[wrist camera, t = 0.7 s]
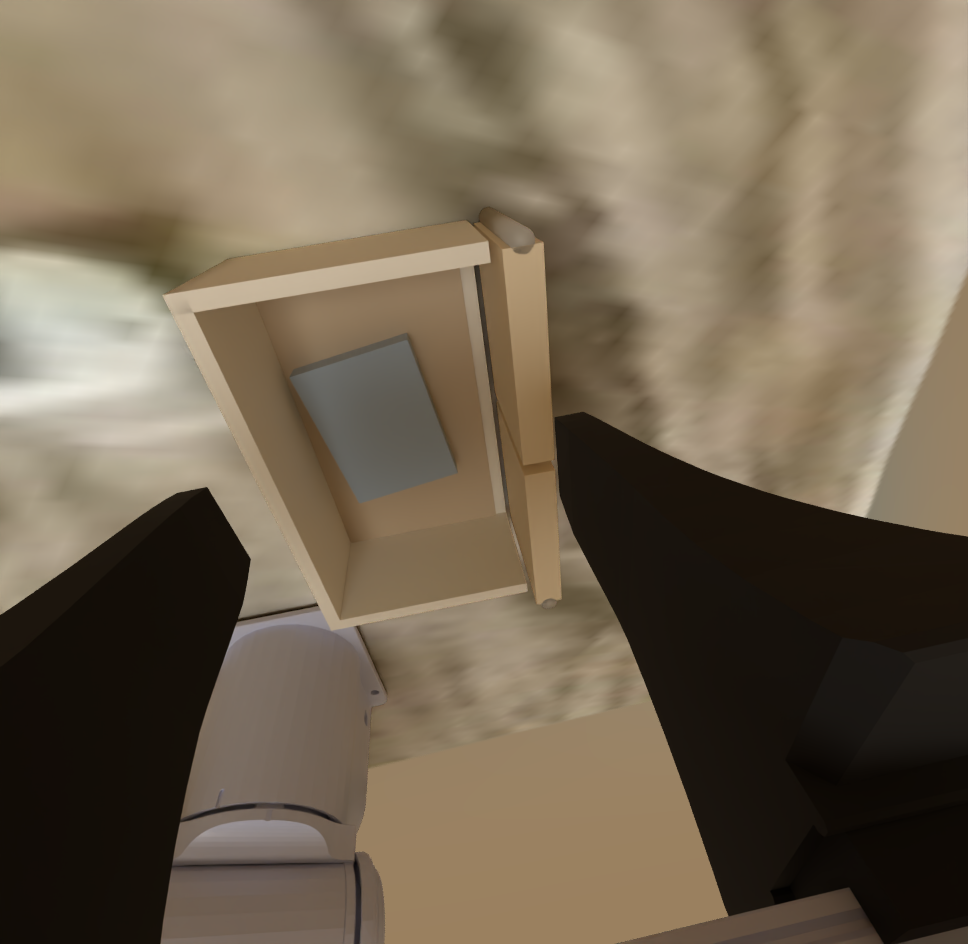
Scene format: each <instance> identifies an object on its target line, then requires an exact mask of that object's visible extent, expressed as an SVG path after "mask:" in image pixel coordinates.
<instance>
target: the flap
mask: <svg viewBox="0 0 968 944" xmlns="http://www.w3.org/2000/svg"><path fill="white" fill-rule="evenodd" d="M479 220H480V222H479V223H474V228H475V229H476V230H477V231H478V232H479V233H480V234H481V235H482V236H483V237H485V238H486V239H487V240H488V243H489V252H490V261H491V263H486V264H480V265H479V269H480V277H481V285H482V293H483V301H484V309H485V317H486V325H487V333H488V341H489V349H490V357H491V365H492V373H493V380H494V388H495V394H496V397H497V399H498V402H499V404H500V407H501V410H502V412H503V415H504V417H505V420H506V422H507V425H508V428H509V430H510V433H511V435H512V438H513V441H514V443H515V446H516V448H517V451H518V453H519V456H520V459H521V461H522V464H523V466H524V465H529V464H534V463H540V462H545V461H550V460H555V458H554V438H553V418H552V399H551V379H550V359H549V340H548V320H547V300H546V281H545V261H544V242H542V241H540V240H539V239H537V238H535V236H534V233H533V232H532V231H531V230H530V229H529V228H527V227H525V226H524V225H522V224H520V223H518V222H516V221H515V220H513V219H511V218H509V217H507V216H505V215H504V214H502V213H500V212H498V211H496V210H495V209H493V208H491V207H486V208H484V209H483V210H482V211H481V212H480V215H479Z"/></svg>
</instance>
